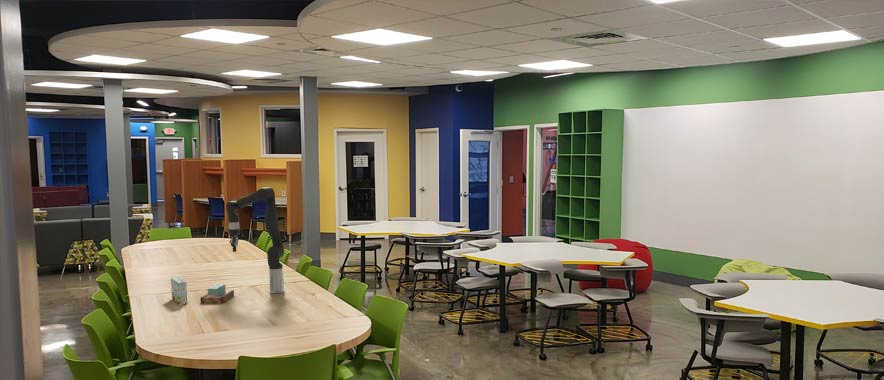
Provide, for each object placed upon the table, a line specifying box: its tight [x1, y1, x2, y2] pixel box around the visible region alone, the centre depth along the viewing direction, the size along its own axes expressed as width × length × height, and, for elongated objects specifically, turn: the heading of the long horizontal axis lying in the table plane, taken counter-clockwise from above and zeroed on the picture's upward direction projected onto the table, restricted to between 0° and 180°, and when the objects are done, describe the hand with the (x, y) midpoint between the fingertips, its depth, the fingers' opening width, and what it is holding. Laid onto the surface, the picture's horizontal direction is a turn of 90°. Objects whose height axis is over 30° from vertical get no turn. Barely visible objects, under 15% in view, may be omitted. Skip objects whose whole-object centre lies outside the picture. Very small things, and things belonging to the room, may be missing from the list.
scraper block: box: [207, 283, 227, 297], centre depth 417 cm, size 6×14×8 cm, turn 176°
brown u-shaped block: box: [200, 290, 235, 304], centre depth 412 cm, size 15×20×4 cm
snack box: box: [170, 276, 188, 305], centre depth 407 cm, size 21×6×15 cm, turn 37°
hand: (234, 251), depth 445 cm, fingers closed
